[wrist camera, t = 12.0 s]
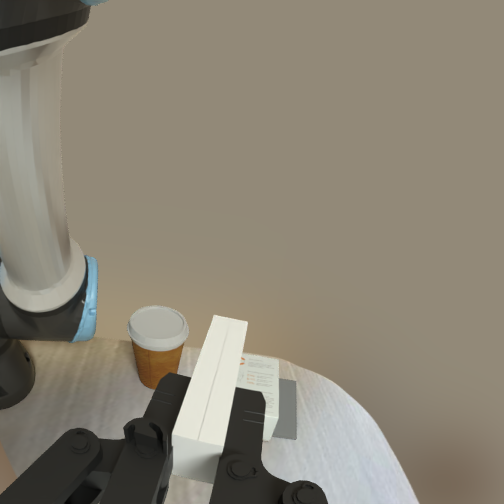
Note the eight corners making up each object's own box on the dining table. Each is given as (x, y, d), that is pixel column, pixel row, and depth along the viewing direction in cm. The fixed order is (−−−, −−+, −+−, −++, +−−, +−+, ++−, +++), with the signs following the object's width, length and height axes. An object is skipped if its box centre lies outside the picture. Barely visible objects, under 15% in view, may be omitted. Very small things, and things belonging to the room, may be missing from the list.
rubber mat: (192, 421, 44) (192, 420, 44) (209, 365, 56) (209, 364, 56) (295, 439, 44) (296, 438, 44) (295, 382, 56) (296, 381, 56)
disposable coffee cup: (157, 351, 57) (159, 297, 53) (196, 378, 53) (202, 323, 48) (118, 374, 49) (114, 318, 45) (157, 406, 45) (157, 350, 41)
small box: (269, 442, 42) (271, 384, 54) (279, 418, 40) (279, 358, 52) (215, 434, 42) (226, 376, 54) (219, 409, 40) (231, 350, 52)
